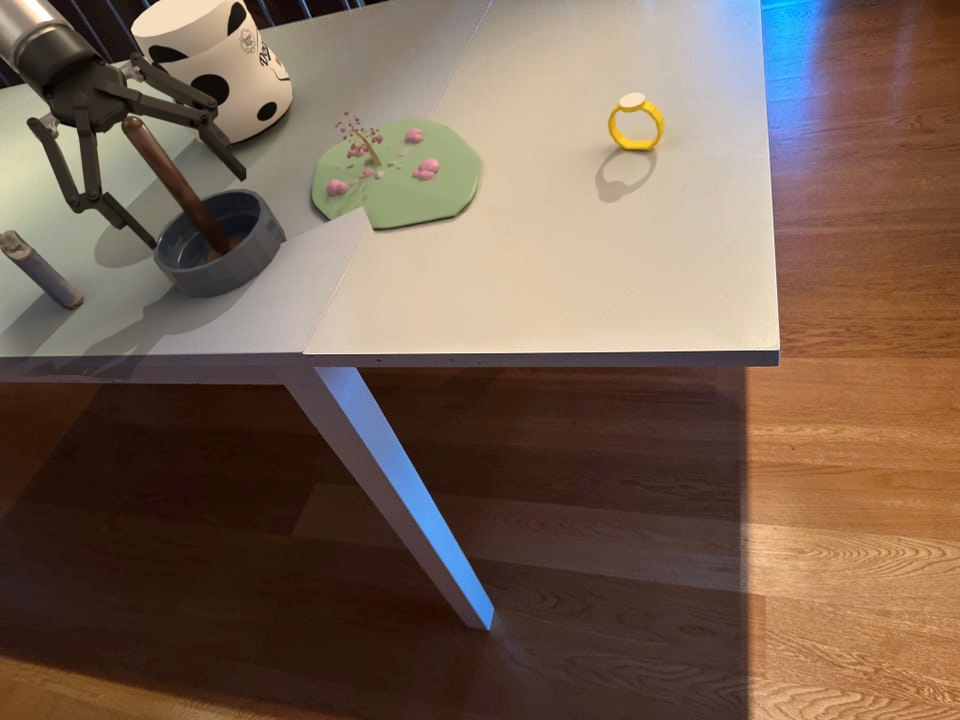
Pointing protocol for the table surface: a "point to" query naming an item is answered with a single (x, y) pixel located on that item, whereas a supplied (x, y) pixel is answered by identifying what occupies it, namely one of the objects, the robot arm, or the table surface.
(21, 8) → the robot arm
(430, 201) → the plant
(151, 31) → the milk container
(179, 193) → the masher
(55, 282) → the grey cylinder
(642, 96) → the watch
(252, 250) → the bowl
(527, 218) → the table surface
